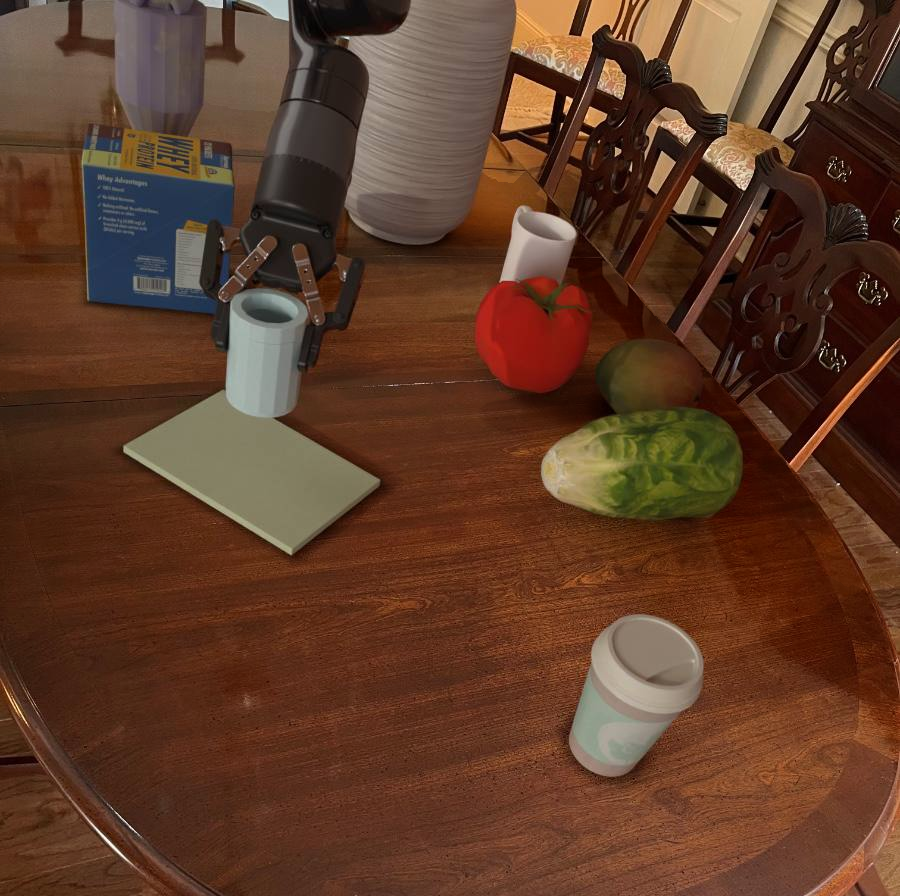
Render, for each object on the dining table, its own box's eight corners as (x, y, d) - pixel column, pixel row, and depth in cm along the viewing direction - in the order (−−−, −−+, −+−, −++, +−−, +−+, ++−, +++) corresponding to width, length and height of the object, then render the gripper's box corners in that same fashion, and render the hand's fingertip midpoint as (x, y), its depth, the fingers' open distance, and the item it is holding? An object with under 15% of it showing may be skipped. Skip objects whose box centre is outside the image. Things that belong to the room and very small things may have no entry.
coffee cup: (558, 786, 76) (608, 689, 68) (547, 700, 82) (592, 601, 74) (662, 796, 78) (723, 703, 70) (643, 711, 84) (698, 615, 76)
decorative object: (155, 226, 124) (156, -47, 103) (101, 192, 127) (91, -79, 107) (216, 209, 131) (229, -51, 110) (163, 176, 134) (165, -81, 113)
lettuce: (511, 476, 103) (541, 386, 96) (677, 469, 111) (717, 385, 103) (553, 552, 96) (589, 460, 88) (727, 538, 104) (774, 453, 96)
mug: (562, 317, 130) (586, 243, 123) (508, 316, 127) (530, 239, 120) (529, 271, 138) (550, 198, 131) (477, 268, 135) (496, 193, 128)
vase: (360, 175, 148) (400, -87, 125) (484, 221, 146) (548, -36, 123) (302, 220, 134) (335, -66, 111) (439, 272, 132) (501, -8, 109)
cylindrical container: (210, 394, 88) (214, 304, 82) (257, 368, 92) (264, 280, 86) (266, 427, 86) (275, 337, 80) (311, 398, 91) (322, 311, 85)
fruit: (664, 463, 111) (698, 389, 104) (566, 415, 114) (593, 339, 107) (695, 420, 119) (729, 348, 112) (603, 376, 122) (631, 303, 115)
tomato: (494, 412, 111) (521, 320, 103) (448, 343, 120) (470, 252, 111) (594, 407, 116) (627, 319, 108) (543, 341, 125) (570, 254, 117)
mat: (123, 452, 93) (123, 445, 92) (222, 395, 102) (223, 389, 102) (291, 555, 88) (292, 549, 87) (379, 486, 98) (380, 479, 97)
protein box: (92, 256, 116) (86, 121, 105) (226, 271, 120) (233, 142, 109) (85, 302, 109) (79, 162, 98) (228, 316, 113) (236, 183, 102)
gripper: (216, 131, 81) (169, 327, 81) (387, 176, 82) (341, 370, 82) (231, 170, 88) (187, 350, 88) (387, 211, 89) (344, 390, 89)
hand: (261, 359), depth 85 cm, fingers closed on cylindrical container, 6 cm apart
